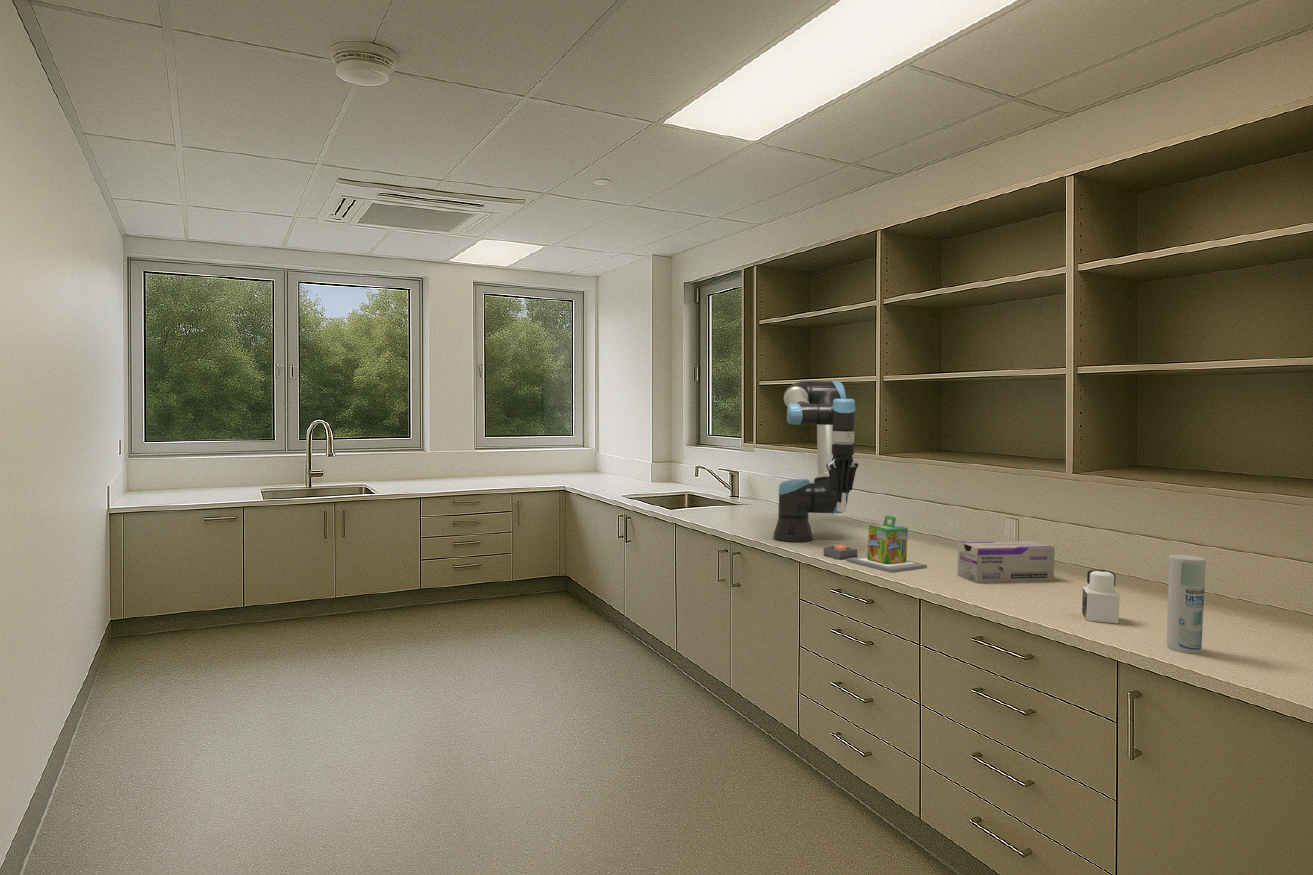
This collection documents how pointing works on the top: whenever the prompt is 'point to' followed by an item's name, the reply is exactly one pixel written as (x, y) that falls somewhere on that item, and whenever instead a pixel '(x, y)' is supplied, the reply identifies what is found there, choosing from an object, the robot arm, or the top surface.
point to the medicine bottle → (1100, 597)
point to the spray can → (1185, 603)
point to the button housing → (840, 553)
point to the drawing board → (887, 567)
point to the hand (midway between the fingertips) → (841, 511)
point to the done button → (840, 547)
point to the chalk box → (887, 542)
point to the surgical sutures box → (1006, 562)
